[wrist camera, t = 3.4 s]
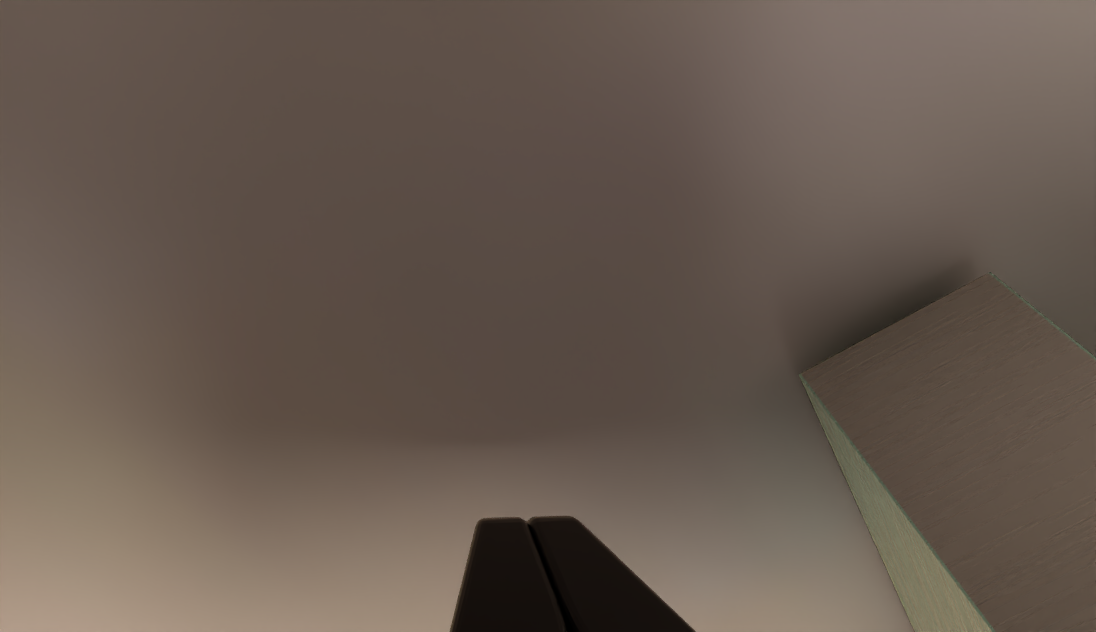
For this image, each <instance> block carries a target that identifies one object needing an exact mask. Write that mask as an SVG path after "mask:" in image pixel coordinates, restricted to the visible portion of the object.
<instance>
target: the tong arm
mask: <svg viewBox="0 0 1096 632" xmlns="http://www.w3.org/2000/svg"><path fill="white" fill-rule="evenodd" d="M799 376H800V378H801V381H802V383H803V385H804V387H805V390H806V392H807V394H808V396H809V398H810V401H811V403H812V405H813V407H814V410H815V412H816V414H817V416H818V418H819V421H820V423H821V425H822V427H823V430H824V432H825V434H826V436H827V438H828V441H829V443H830V445H831V447H832V449H833V452H834V454H835V456H836V458H837V461H838V463H839V465H840V467H841V469H842V472H843V474H844V476H845V478H846V481H847V483H848V485H849V487H850V489H851V492H852V494H853V496H854V498H855V500H856V503H857V505H858V507H859V509H860V512H861V514H862V516H863V518H864V520H865V523H866V525H867V527H868V529H869V532H870V534H871V536H872V538H873V540H874V543H875V545H876V547H877V549H878V552H879V554H880V556H881V558H882V560H883V563H884V565H885V567H886V569H887V571H888V574H889V576H890V578H891V580H892V583H893V585H894V587H895V589H896V591H897V594H898V596H899V598H900V600H901V603H902V605H903V607H904V609H905V611H906V614H907V616H908V618H909V620H910V622H911V625H912V627H913V629H914V631H915V632H1096V357H1095V356H1093V355H1092V354H1091V353H1090V352H1088V351H1087V350H1086V349H1085V348H1083V347H1082V346H1081V345H1080V344H1079V343H1077V342H1076V341H1075V340H1074V339H1072V338H1071V337H1070V336H1069V335H1067V334H1066V333H1065V332H1064V331H1062V330H1061V329H1060V328H1059V327H1058V326H1056V325H1055V324H1054V323H1053V322H1051V321H1050V320H1049V319H1048V318H1046V317H1045V316H1044V315H1043V314H1041V313H1040V312H1039V311H1038V310H1037V309H1035V308H1034V307H1033V306H1032V305H1030V304H1029V303H1028V302H1027V301H1025V300H1024V299H1023V298H1022V297H1020V296H1019V295H1018V294H1017V293H1016V292H1014V291H1013V290H1012V289H1011V288H1009V287H1008V286H1007V285H1006V284H1004V283H1003V282H1002V281H1001V280H999V279H998V278H997V277H996V276H995V275H993V274H992V273H991V272H989V273H987V274H986V275H984V276H982V277H980V278H978V279H976V280H974V281H972V282H971V283H969V284H967V285H965V286H963V287H961V288H959V289H958V290H956V291H954V292H952V293H950V294H948V295H946V296H944V297H943V298H941V299H939V300H937V301H935V302H933V303H931V304H930V305H928V306H926V307H924V308H922V309H920V310H918V311H916V312H915V313H913V314H911V315H909V316H907V317H905V318H903V319H901V320H900V321H898V322H896V323H894V324H892V325H890V326H888V327H887V328H885V329H883V330H881V331H879V332H877V333H875V334H873V335H872V336H870V337H868V338H866V339H864V340H862V341H860V342H859V343H857V344H855V345H853V346H851V347H849V348H847V349H845V350H844V351H842V352H840V353H838V354H836V355H834V356H832V357H831V358H829V359H827V360H825V361H823V362H821V363H819V364H817V365H816V366H814V367H812V368H810V369H808V370H806V371H804V372H802V373H801V374H799Z"/></svg>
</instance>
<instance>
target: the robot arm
mask: <svg viewBox="0 0 1096 632" xmlns="http://www.w3.org/2000/svg"><path fill="white" fill-rule="evenodd" d="M450 632H696V631H695V630H694V629H693V628H692V627H690V626H689V625H688V624H687V623H686V622H685V621H684V620H683V619H682V618H681V617H680V616H679V615H678V614H677V613H676V612H675V611H674V610H673V609H672V608H671V607H669V606H668V605H667V604H666V603H665V602H664V601H663V600H662V599H661V598H660V597H659V596H658V595H657V594H656V593H655V592H654V591H653V590H652V589H651V588H649V587H648V586H647V585H646V584H645V583H644V582H643V581H642V580H641V579H640V578H639V577H638V576H637V575H636V574H635V573H634V572H633V571H632V570H631V569H630V568H628V567H627V566H626V565H625V564H624V563H623V562H622V561H621V560H620V559H619V558H618V557H617V556H616V555H615V554H614V553H613V552H612V551H611V550H610V549H609V548H607V547H606V546H605V545H604V544H603V543H602V542H601V541H600V540H599V539H598V538H597V537H596V536H595V535H594V534H593V533H592V532H591V531H590V530H589V529H588V528H586V527H585V526H584V525H583V524H582V523H581V522H580V521H579V520H578V519H576V518H574V517H571V516H541V517H532V518H531V519H529V520H528V521H527V522H526V521H525V520H523V519H521V518H519V517H505V518H483V519H481V520H479V521H478V522H477V524H476V527H475V531H474V535H473V539H472V543H471V547H470V551H469V555H468V559H467V563H466V567H465V571H464V575H463V580H462V584H461V588H460V592H459V596H458V600H457V604H456V608H455V612H454V616H453V620H452V624H451V628H450Z"/></svg>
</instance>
